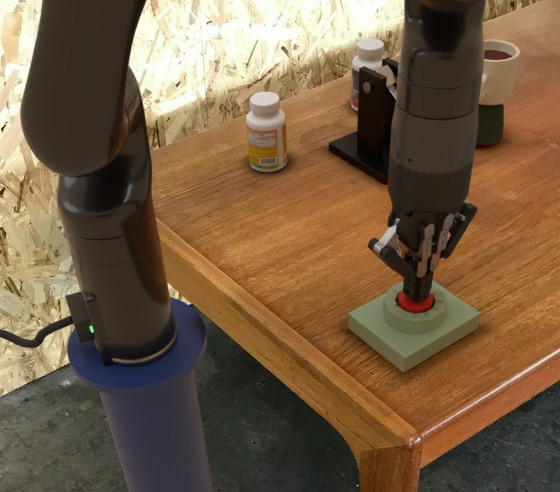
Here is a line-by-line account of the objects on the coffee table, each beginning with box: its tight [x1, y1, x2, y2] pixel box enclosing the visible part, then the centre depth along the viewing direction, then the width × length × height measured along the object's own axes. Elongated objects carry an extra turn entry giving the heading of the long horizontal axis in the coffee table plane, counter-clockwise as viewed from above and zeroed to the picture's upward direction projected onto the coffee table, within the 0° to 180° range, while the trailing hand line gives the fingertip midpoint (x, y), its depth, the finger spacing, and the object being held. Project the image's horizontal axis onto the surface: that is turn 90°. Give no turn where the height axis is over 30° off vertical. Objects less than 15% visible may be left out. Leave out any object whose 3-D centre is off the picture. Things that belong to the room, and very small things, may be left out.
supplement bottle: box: [245, 91, 288, 173], centre depth 109 cm, size 5×5×10 cm
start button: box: [398, 290, 433, 313], centre depth 84 cm, size 4×4×2 cm
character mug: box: [476, 39, 521, 146], centre depth 110 cm, size 11×7×13 cm, turn 156°
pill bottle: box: [350, 37, 387, 113], centre depth 119 cm, size 5×5×10 cm
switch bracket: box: [328, 56, 399, 185], centre depth 108 cm, size 12×9×13 cm
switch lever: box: [375, 65, 397, 106], centre depth 104 cm, size 12×6×2 cm, turn 36°
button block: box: [347, 280, 482, 373], centre depth 85 cm, size 11×9×4 cm
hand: (416, 296), depth 84 cm, fingers closed
